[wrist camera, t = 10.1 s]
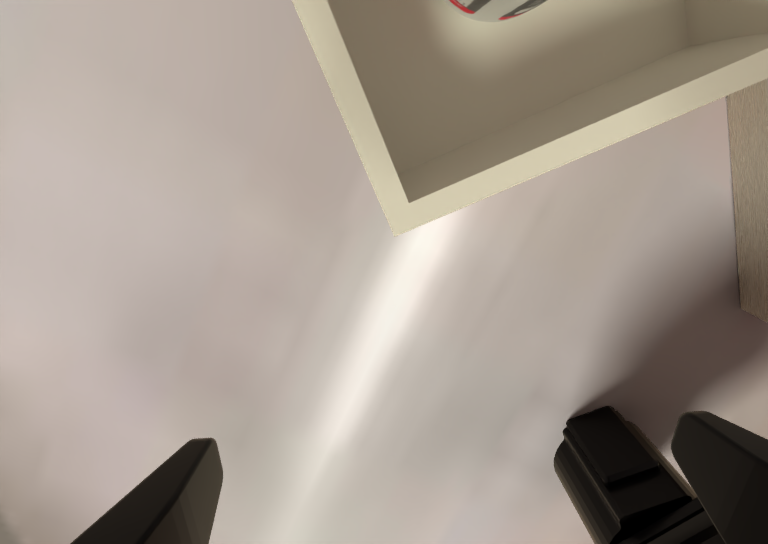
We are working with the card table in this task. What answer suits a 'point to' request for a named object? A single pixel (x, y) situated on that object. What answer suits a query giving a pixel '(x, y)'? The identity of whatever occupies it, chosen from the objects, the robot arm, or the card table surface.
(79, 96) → the card table surface
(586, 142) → the bin
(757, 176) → the socket block
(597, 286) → the card table surface
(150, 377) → the card table surface
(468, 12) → the pill bottle
